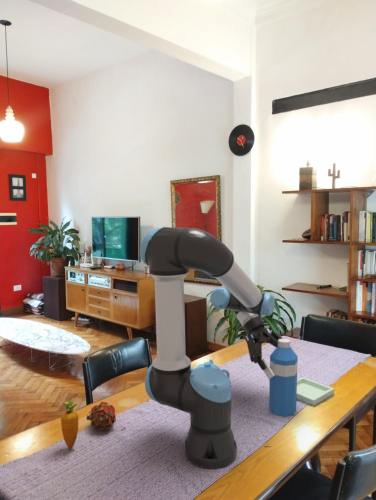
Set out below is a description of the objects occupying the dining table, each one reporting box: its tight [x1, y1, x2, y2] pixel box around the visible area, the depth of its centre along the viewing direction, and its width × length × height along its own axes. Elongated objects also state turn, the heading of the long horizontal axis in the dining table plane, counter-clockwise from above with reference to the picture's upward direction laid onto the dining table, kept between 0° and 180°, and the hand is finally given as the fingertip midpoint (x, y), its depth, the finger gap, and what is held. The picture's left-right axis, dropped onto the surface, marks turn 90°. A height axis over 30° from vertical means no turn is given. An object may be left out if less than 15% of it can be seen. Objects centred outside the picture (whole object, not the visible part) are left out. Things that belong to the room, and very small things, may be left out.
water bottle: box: [268, 338, 298, 418], centre depth 137 cm, size 9×9×25 cm
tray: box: [296, 376, 335, 408], centre depth 150 cm, size 14×14×2 cm
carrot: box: [60, 398, 79, 450], centre depth 115 cm, size 5×5×15 cm
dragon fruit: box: [85, 401, 117, 431], centre depth 128 cm, size 8×8×12 cm
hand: (283, 371), depth 138 cm, fingers open, 13 cm apart
